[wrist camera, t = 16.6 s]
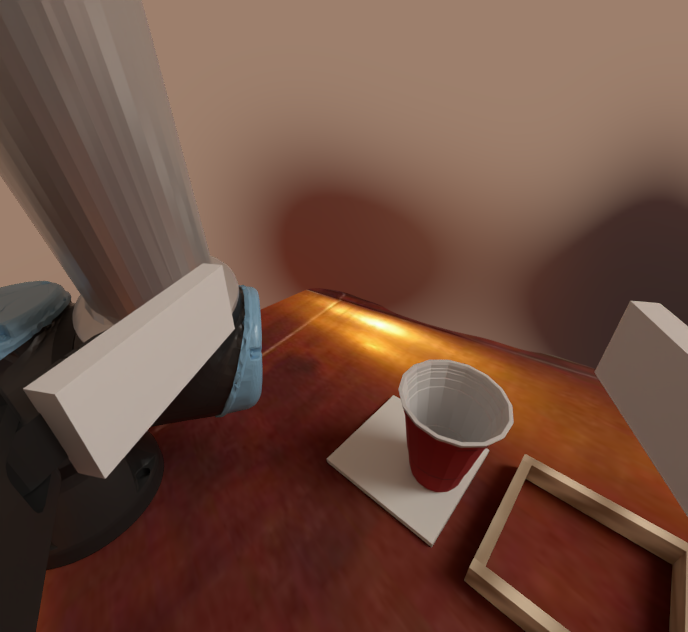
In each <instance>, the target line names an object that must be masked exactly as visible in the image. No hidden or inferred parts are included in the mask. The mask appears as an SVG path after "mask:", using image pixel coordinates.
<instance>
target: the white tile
mask: <svg viewBox="0 0 688 632" xmlns="http://www.w3.org/2000/svg"><path fill="white" fill-rule="evenodd" d="M488 452H489V450H488V449H484V451H483V452H482V453H481V455H480V456H479V458H478V459H477V460H476V462H475V463H474V465H473V466H472V467H471V469H470V470H469V472H468V473H467V474H466V475H465V476H464V477H463V479H462V480H461V482H460V483H459V485H458V486H456V487H455V488H454V489H452V490H450V491H448V492H435V491H432V490H428V489H426V488H425V487H424V486H422V485H421V484H419V483H418V482H417V480H416V479H415V477H414V476H413V475H412V471H411V468H410V464H409V453H408V448H407V437H406V422H405V413H404V409H403V406H402V402H401V399H399V398H398V397H396V396H394V395H393V396H392V397H391V398H390V399H389V400H388V401H387V402H386V403H385V404H384V405H383V406H382V407H381V408H380V409H379V410H378V411H376V412H375V413H374V414H373V415H372V416H371V417H370V418H369V419H368V420H367V421H366V422H365V423H364V424H363V425H362V426H361V427H360V428H359V429H357V430H356V431H355V432H354V433H353V434H352V435H351V436H350V437H349V438H348V439H347V440H346V441H345V442H344V443H343V444H342V445H341V446H340V447H338V448H337V449H336V450H335V451H334V452H333V453H332V454H331V455H330V456H329V457H328V458H327V463H329V464H330V465H331V466H332V467H334V468H335V469H336V470H337V471H339V472H340V473H341V474H342V475H343V476H345V477H346V478H347V479H348V480H350V481H351V482H352V483H353V484H354V485H356V486H357V487H358V488H359V489H361V490H362V491H363V492H364V493H366V494H367V495H368V496H369V497H370V498H372V499H373V500H374V501H375V502H377V503H378V504H379V505H380V506H381V507H383V508H384V509H385V510H386V511H388V512H389V513H390V514H391V515H393V516H394V517H395V518H396V519H397V520H399V521H400V522H401V523H402V524H404V525H405V526H406V527H407V528H408V529H410V530H411V531H412V532H413V533H415V534H416V535H417V536H418V537H419V538H421V539H422V540H423V541H424V542H426V543H427V544H428V545H429V546H431V547H432V546H433V544H434V543H435V541H436V539H437V538H438V536H439V534H440V533H441V531H442V529H443V528H444V526H445V524H446V523H447V521H448V519H449V518H450V516H451V514H452V513H453V511H454V509H455V508H456V506H457V504H458V503H459V501H460V499H461V498H462V496H463V494H464V493H465V491H466V489H467V488H468V486H469V484H470V483H471V481H472V479H473V478H474V476H475V474H476V473H477V471H478V469H479V468H480V466H481V464H482V463H483V461H484V459H485V458H486V456H487V454H488Z"/></svg>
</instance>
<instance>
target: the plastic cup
mask: <svg viewBox="0 0 688 632" xmlns="http://www.w3.org/2000/svg"><path fill="white" fill-rule="evenodd" d="M399 394H400V398H401V402H402V406H403V409H404V413H405V422H406V437H407V448H408V453H409V464H410V468H411V471H412V475H413V476H414V477H415V479H416V480H417V482H418V483H419V484H421V485H422V486H424V487H425V488H426V489H428V490H432V491H435V492H448V491H450V490H452V489H454V488H455V487H456V486H458V485H459V483H460V482H461V480H462V479H463V477H464V476H465V475H466V474H467V473H468V472H469V470H470V469H471V467H472V466H473V465H474V463H475V462H476V460H477V459H478V458H479V456H480V455H481V453H482V452H483V451H484V449H486V448H487V447H488V446H489V445H491V444H493V443H495V442H497V441H499V440H501V439H503V438H504V437H505V436H506V434H507V433H508V431H509V429H510V428H511V426H512V424H513V409H512V404H511V403H510V401H509V399H508V397H507V396H506V394H505V392H504V390H503V389H502V388H501V387H500V386H499V385H498V384H497V383H495V382H494V381H493V380H492V379H491V378H490V377H489V376H488V375H486V374H484V373H482V372H481V371H479V370H477V369H475V368H473V367H471V366H469V365H466V364H462V363H459V362H455V361H451V360H428V361H424V362H421V363H418V364H415V365H413V366H412V367H411V368H410V369H409V370H408V371H407V372H405V373H404V374H403V376H402V379H401V383H400V386H399Z"/></svg>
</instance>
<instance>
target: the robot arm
mask: <svg viewBox="0 0 688 632" xmlns="http://www.w3.org/2000/svg"><path fill="white" fill-rule="evenodd" d="M0 175H1V177H2V178H3V180H4V181H5V183H6V184H7V186H8V187H9V189H10V190H11V192H12V193H13V195H14V196H15V198H16V199H17V201H18V202H19V203H20V205H21V206H22V208H23V210H24V211H25V212H26V214H27V215H28V217H29V218H30V220H31V221H32V223H33V224H34V226H35V227H36V228H37V230H38V232H39V233H40V235H41V236H42V237H43V239H44V240H45V242H46V243H47V245H48V246H49V248H50V249H51V251H52V252H53V254H54V255H55V257H56V258H57V260H58V261H59V263H60V264H61V265H62V267H63V269H64V270H65V271H66V273H67V275H68V276H69V277H70V279H71V280H72V282H73V283H74V285H75V286H76V288H77V289H78V291H79V292H80V294H81V295H80V296H79V298H78V300H77V302H76V303H72V302H71V295H70V294H69V292H67V291H65V290H64V288H63V287H62V286H61V285H59V284H57V283H52V282H48V281H34V282H25V283H19V284H14V285H9V286H5V287H1V288H0V632H36V627H37V621H38V615H39V609H40V603H41V597H42V591H43V585H44V580H45V574H46V570H47V569H53V568H57V567H61V566H65V565H67V564H70V563H73V562H76V561H78V560H80V559H83V558H85V557H87V556H89V555H91V554H93V553H94V552H96V551H98V550H100V549H101V548H103V547H104V546H106V545H107V544H109V543H110V542H112V541H113V540H114V539H116V538H117V537H118V536H120V535H121V534H122V533H123V532H124V531H125V530H127V529H128V528H129V527H130V526H131V525H132V524H133V523H134V522H135V521H136V520H137V519H138V518H139V517H140V515H141V514H142V513H143V512H144V511H145V509H146V508H147V507H148V505H149V504H150V502H151V501H152V499H153V498H154V496H155V494H156V492H157V490H158V488H159V486H160V483H161V480H162V476H163V471H164V460H163V456H162V453H161V451H160V448H159V446H158V444H157V442H156V440H155V438H154V437H153V436H152V435H151V433H150V432H148V431H147V430H148V429H149V428H150V427H151V426H157V425H163V424H169V423H175V422H181V421H187V420H192V419H199V418H205V417H212V416H215V417H223V416H224V415H226V414H227V413H232V412H236V411H241V410H245V409H248V408H251V407H252V406H254V405H255V404H256V403H257V401H258V400H259V398H260V395H261V390H262V353H261V349H262V344H261V342H262V332H261V314H260V303H259V295H258V292H257V290H256V289H255V288H253V287H246V286H244V285H241V286H240V285H238V282H237V280H236V277H235V275H234V273H233V271H232V270H231V269H230V268H229V267H228V266H227V265H226V264H225V263H224V262H222V261H220V260H219V259H217V258H215V257H213V256H210V253H209V249H208V246H207V242H206V238H205V234H204V230H203V227H202V223H201V219H200V216H199V212H198V208H197V204H196V201H195V197H194V193H193V189H192V186H191V182H190V178H189V175H188V171H187V167H186V163H185V160H184V156H183V152H182V149H181V145H180V141H179V137H178V134H177V130H176V126H175V122H174V119H173V115H172V111H171V108H170V104H169V100H168V96H167V92H166V89H165V85H164V81H163V77H162V74H161V70H160V66H159V63H158V59H157V55H156V51H155V48H154V44H153V40H152V37H151V33H150V29H149V26H148V22H147V18H146V14H145V10H144V7H143V3H142V0H0ZM595 374H596V375H597V377H598V379H599V380H600V382H601V383H602V385H603V386H604V388H605V389H606V391H607V392H608V394H609V396H610V397H611V399H612V400H613V402H614V403H615V405H616V406H617V408H618V410H619V411H620V413H621V414H622V416H623V417H624V419H625V420H626V422H627V423H628V425H629V427H630V428H631V430H632V431H633V433H634V434H635V436H636V437H637V439H638V441H639V442H640V444H641V445H642V447H643V448H644V450H645V451H646V453H647V454H648V456H649V458H650V459H651V461H652V462H653V464H654V465H655V467H656V468H657V470H658V471H659V473H660V475H661V476H662V478H663V479H664V481H665V482H666V484H667V485H668V487H669V489H670V490H671V492H672V493H673V495H674V496H675V498H676V499H677V501H678V502H679V504H680V506H681V507H682V509H683V510H684V512H685V513H686V515H687V516H688V326H687V325H685V324H684V323H683V322H682V321H681V320H679V319H678V318H677V317H676V316H674V315H673V314H672V313H671V312H670V311H668V310H667V309H666V308H665V307H664V306H662V305H661V304H660V303H650V302H638V301H630V303H629V305H628V307H627V309H626V311H625V313H624V315H623V317H622V319H621V321H620V323H619V325H618V327H617V329H616V331H615V333H614V335H613V337H612V339H611V341H610V343H609V345H608V347H607V348H606V350H605V353H604V354H603V356H602V359H601V360H600V362H599V364H598V366H597V368H596V370H595Z"/></svg>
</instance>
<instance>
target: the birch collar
mask: <svg viewBox="0 0 688 632" xmlns="http://www.w3.org/2000/svg"><path fill="white" fill-rule="evenodd" d="M525 479H527V480H528V481H530V482H532V483H534V484H535V485H537V486H539V487H540V488H542V489H544V490H545V491H547V492H549V493H551V494H552V495H554V496H556V497H557V498H559V499H561V500H563V501H564V502H566V503H568V504H569V505H571V506H573V507H574V508H576V509H578V510H580V511H581V512H583V513H585V514H586V515H588V516H590V517H592V518H593V519H595V520H597V521H598V522H600V523H602V524H603V525H605V526H607V527H609V528H610V529H612V530H614V531H615V532H617V533H619V534H621V535H622V536H624V537H626V538H627V539H629V540H631V541H632V542H634V543H636V544H638V545H639V546H641V547H643V548H644V549H646V550H648V551H650V552H651V553H653V554H655V555H656V556H658V557H660V558H661V559H663V560H665V561H667V562H668V563H670V564H672V584H671V604H670V625H669V632H688V543H687V542H685V541H683V540H681V539H680V538H678V537H676V536H674V535H672V534H670V533H669V532H667V531H665V530H663V529H661V528H659V527H658V526H656V525H654V524H652V523H650V522H648V521H647V520H645V519H643V518H641V517H639V516H638V515H636V514H634V513H632V512H630V511H628V510H627V509H625V508H623V507H621V506H619V505H617V504H616V503H614V502H612V501H610V500H608V499H606V498H605V497H603V496H601V495H599V494H597V493H596V492H594V491H592V490H590V489H588V488H586V487H585V486H583V485H581V484H579V483H577V482H575V481H574V480H572V479H570V478H568V477H566V476H564V475H563V474H561V473H559V472H557V471H555V470H554V469H552V468H550V467H548V466H546V465H544V464H543V463H541V462H539V461H537V460H535V459H533V458H532V457H530V456H528V455H526V454H525V455H524V457H523V459H522V461H521V463H520V465H519V467H518V469H517V471H516V473H515V476H514V478H513V480H512V482H511V484H510V486H509V488H508V490H507V492H506V494H505V496H504V498H503V500H502V502H501V504H500V506H499V508H498V510H497V512H496V514H495V516H494V518H493V520H492V522H491V524H490V526H489V528H488V530H487V532H486V534H485V536H484V538H483V540H482V542H481V544H480V547H479V549H478V551H477V553H476V555H475V557H474V559H473V561H472V563H471V565H470V567H469V569H468V572H467V574H466V576H465V579H464V581H465V582H466V583H467V584H469V585H470V586H471V587H472V588H474V589H475V590H476V591H477V592H478V593H480V594H481V595H482V596H483V597H484V598H486V599H487V600H488V601H489V602H490V603H492V604H493V605H494V606H495V607H497V608H498V609H499V610H500V611H501V612H503V613H504V614H505V615H506V616H507V617H509V618H510V619H511V620H512V621H513V622H515V623H516V624H517V625H518V626H519V627H521V628H522V629H523V630H524V631H526V632H570V631H568V630H567V629H566V628H565V627H563V626H562V625H561V624H559V623H558V622H557V621H556V620H554V619H553V618H552V617H550V616H549V615H548V614H547V613H545V612H544V611H543V610H541V609H540V608H539V607H537V606H536V605H535V604H534V603H532V602H531V601H530V600H528V599H527V598H526V597H525V596H523V595H522V594H521V593H519V592H518V591H517V590H515V589H514V588H513V587H512V586H510V585H509V584H508V583H506V582H505V581H504V580H503V579H501V578H500V577H499V576H497V575H496V574H495V573H493V572H492V571H491V570H490V569H488V568H487V567H486V564H487V561H488V559H489V557H490V555H491V553H492V550H493V548H494V546H495V544H496V542H497V540H498V537H499V535H500V533H501V531H502V529H503V527H504V524H505V522H506V520H507V518H508V516H509V513H510V511H511V509H512V507H513V505H514V503H515V500H516V498H517V496H518V494H519V492H520V490H521V487H522V485H523V483H524V481H525Z"/></svg>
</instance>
